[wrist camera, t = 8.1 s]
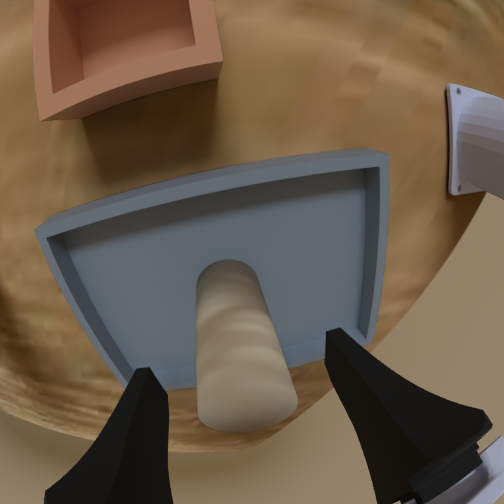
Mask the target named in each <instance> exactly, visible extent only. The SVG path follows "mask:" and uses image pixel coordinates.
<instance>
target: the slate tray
mask: <svg viewBox="0 0 504 504" xmlns="http://www.w3.org/2000/svg"><path fill="white" fill-rule="evenodd" d="M388 216H389V154H387V153H384V152H380V151H376V150H373V149H369V148H363V149H350V150H339V151H329V152H320V153H312V154H304V155H296V156H289V157H282V158H275V159H269V160H262V161H256V162H251V163H245V164H239V165H234V166H229V167H224V168H219V169H214V170H209V171H204V172H200V173H195V174H191V175H186V176H182V177H178V178H174V179H170V180H166V181H162V182H158V183H154V184H150V185H146V186H143V187H139V188H136V189H132V190H129V191H125V192H122V193H118V194H115V195H112V196H108V197H105V198H102V199H99V200H96V201H93V202H90V203H87V204H84V205H81V206H78V207H75V208H72V209H69V210H66V211H64V212H61V213H58V214H55V215H53V216H51V217H50V218H48V219H47V220H46V221H45V222H43V223H42V224H41V225H40V226H38V227H37V228H36V229H35V230H34V231H35V233H36V236H37V238H38V241H39V243H40V246H41V248H42V251H43V253H44V255H45V258H46V260H47V262H48V264H49V267H50V269H51V271H52V273H53V275H54V277H55V279H56V281H57V283H58V285H59V287H60V289H61V291H62V293H63V295H64V297H65V299H66V301H67V302H68V304H69V306H70V308H71V310H72V311H73V313H74V315H75V317H76V318H77V320H78V322H79V323H80V325H81V327H82V328H83V330H84V332H85V333H86V335H87V336H88V338H89V340H90V341H91V343H92V344H93V346H94V347H95V349H96V350H97V352H98V353H99V355H100V356H101V358H102V359H103V360H104V362H105V363H106V365H107V366H108V367H109V369H110V370H111V372H112V373H113V374H114V376H115V377H116V378H117V380H118V381H119V382H120V384H121V385H122V386H123V387H124V389H126V387H127V385H128V383H129V381H130V379H131V377H132V375H133V374H134V372H135V370H136V368H144V367H150V368H151V370H152V371H153V373H154V375H155V376H156V378H157V379H158V381H159V382H160V384H161V385H162V387H163V388H164V390H165V391H168V390H177V389H185V388H193V387H197V379H196V284H197V280H198V277H199V275H200V273H201V272H202V271H203V270H204V269H205V268H206V267H207V266H208V265H210V264H212V263H214V262H216V261H220V260H225V259H233V260H238V261H241V262H244V263H246V264H247V265H249V266H250V267H251V268H252V269H253V270H254V271H255V273H256V275H257V277H258V280H259V283H260V286H261V289H262V292H263V295H264V298H265V301H266V304H267V307H268V310H269V313H270V316H271V319H272V322H273V325H274V328H275V331H276V334H277V337H278V340H279V343H280V346H281V349H282V352H283V355H284V358H285V361H286V365H287V368H288V369H290V368H294V367H297V366H301V365H305V364H308V363H312V362H316V361H319V360H322V359H325V340H326V331H329V330H332V329H336V328H339V327H340V328H342V329H343V330H344V331H345V332H346V333H347V334H348V335H350V336H351V337H352V338H353V339H354V340H355V341H356V342H357V343H358V344H360V345H361V346H365V345H368V344H371V343H373V338H374V333H375V328H376V323H377V317H378V311H379V305H380V298H381V291H382V284H383V276H384V267H385V258H386V247H387V233H388Z"/></svg>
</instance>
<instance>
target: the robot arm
mask: <svg viewBox="0 0 504 504" xmlns="http://www.w3.org/2000/svg"><path fill="white" fill-rule="evenodd" d="M447 99H448V112H449V132H450V164H449V185H448V191H449V193H450V194H451V195H454V196H455V195H461V194H468V193H474V192H480V191H486V192H489V193H491V194H493V195H495V196H497V197H499V198H501V199H503V200H504V99H501V98H498V97H496V96H493V95H490V94H487V93H484V92H481V91H477V90H474V89H471V88H467V87H464V86H460V85H456V84H448V85H447ZM324 363H325V366H326V368H327V371H328V374H329V377H330V379H331V382H332V384H333V386H334V388H335V390H336V392H337V394H338V396H339V398H340V400H341V402H342V404H343V406H344V408H345V410H346V412H347V414H348V416H349V418H350V420H351V422H352V424H353V426H354V428H355V431H356V433H357V436H358V439H359V442H360V444H361V447H362V450H363V453H364V456H365V459H366V462H367V466H368V469H369V472H370V476H371V479H372V483H373V487H374V491H375V495H376V500H377V504H393V503H395V502H397V501H399V500H400V502H401V504H493V503H494V502H495V501H496V500H497V499H498V498H499V497H500V496H501V495H502V493H503V492H504V437H503V436H502V435H501V436H499V437H498V438H497V439H496V440H495V441H494V442H492V443H491V444H490V445H489V446H488V447H487V448H485V449H484V450H483V451H482V452H480V453H479V454H478V452H477V449H479V446H478V445H477V443H476V442H477V441H478V440H480V439H481V438H482V437H483V436H484V435H485V434H486V433H487V432H488V431H489V430H490V429H491V428H492V426H493V424H492V423H491V421H490V420H489V418H488V416H487V415H486V414H485V412H484V411H483V410H481V409H477V408H473V407H469V406H465V405H461V404H458V403H455V402H452V401H450V400H447V399H445V398H442V397H440V396H438V395H435V394H433V393H430V392H428V391H426V390H424V389H422V388H421V387H419V386H417V385H415V384H413V383H411V382H410V381H408V380H406V379H405V378H403V377H401V376H400V375H399V374H397V373H396V372H394V371H393V370H391V369H390V368H388V367H387V366H386V365H384V364H383V363H382V362H380V361H379V360H378V359H376V358H375V357H374V356H373V355H372V354H370V353H369V352H368V351H367V350H365V349H364V348H363V347H362V346H361V345H360V344H358V343H357V342H356V341H355V340H354V339H353V338H352V337H351V336H350V335H348V334H347V333H346V332H345V331H344V330H343V329H342V328H340V327H339V328H336V329H332V330H329V331H326V340H325V362H324ZM168 433H169V406H168V394H167V393H166V391H165V390H164V388H163V387H162V385H161V384H160V382H159V381H158V379H157V378H156V376H155V375H154V373H153V371H152V370H151V368H150V367H144V368H136V370H135V372H134V374H133V375H132V377H131V379H130V381H129V383H128V385H127V387H126V389H125V391H124V393H123V395H122V396H121V398H120V400H119V402H118V404H117V406H116V408H115V409H114V411H113V413H112V415H111V416H110V418H109V420H108V421H107V423H106V425H105V426H104V428H103V430H102V431H101V433H100V434H99V436H98V437H97V439H96V440H95V441H94V443H93V444H92V446H91V447H90V448H89V449H88V451H87V452H86V453H85V454H84V455H83V457H82V458H81V459H80V460H79V461H78V463H77V464H76V465H75V466H74V467H73V468H72V469H71V470H70V471H69V472H68V473H67V474H66V475H65V476H63V477H62V478H61V479H60V480H59V481H57V482H56V483H55V484H54V485H52V486H51V487H50V488H49V489H47V490H46V491H45V497H44V504H173V499H172V494H171V488H170V481H169V472H168Z"/></svg>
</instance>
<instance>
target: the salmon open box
mask: <svg viewBox="0 0 504 504" xmlns="http://www.w3.org/2000/svg"><path fill="white" fill-rule="evenodd" d="M222 63H223V57H222V51H221V46H220V40H219V34H218V28H217V23H216V17H215V11H214V6H213V0H35V4H34V17H33V65H34V80H35V90H36V99H37V106H38V113H39V119H40V122H42V121H52V120H66V119H81V118H84V117H86V116H89V115H91V114H93V113H96V112H99V111H101V110H104V109H107V108H109V107H112V106H115V105H118V104H121V103H124V102H127V101H130V100H133V99H136V98H139V97H142V96H146V95H149V94H153V93H156V92H160V91H164V90H168V89H172V88H176V87H180V86H184V85H189V84H194V83H199V82H204V81H209V80H215V79H218V78H219V74H220V71H221V67H222Z"/></svg>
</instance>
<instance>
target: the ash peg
mask: <svg viewBox="0 0 504 504" xmlns="http://www.w3.org/2000/svg"><path fill="white" fill-rule="evenodd" d="M196 379H197V407H198V417H199V419H200V421H201V422H202V423H203V424H205V425H206V426H208V427H209V428H212V429H214V430H217V431H222V432H228V433H248V432H255V431H260V430H264V429H267V428H270V427H272V426H275V425H277V424H279V423H281V422H283V421H284V420H286V419H287V418H288V417H290V416H291V415H292V414H293V413H294V411H295V410H296V408H297V406H298V397H297V394H296V391H295V388H294V386H293V383H292V380H291V377H290V374H289V371H288V368H287V365H286V361H285V358H284V355H283V352H282V349H281V346H280V343H279V340H278V337H277V334H276V331H275V328H274V325H273V322H272V319H271V316H270V313H269V310H268V307H267V304H266V301H265V298H264V295H263V292H262V289H261V286H260V283H259V280H258V277H257V275H256V273H255V271H254V270H253V269H252V268H251V267H250V266H249V265H247V264H246V263H244V262H241V261H238V260H233V259H225V260H220V261H216V262H214V263H212V264H210V265H208V266H207V267H206V268H205V269H204V270H203V271H202V272H201V273H200V275H199V277H198V280H197V284H196Z"/></svg>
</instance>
